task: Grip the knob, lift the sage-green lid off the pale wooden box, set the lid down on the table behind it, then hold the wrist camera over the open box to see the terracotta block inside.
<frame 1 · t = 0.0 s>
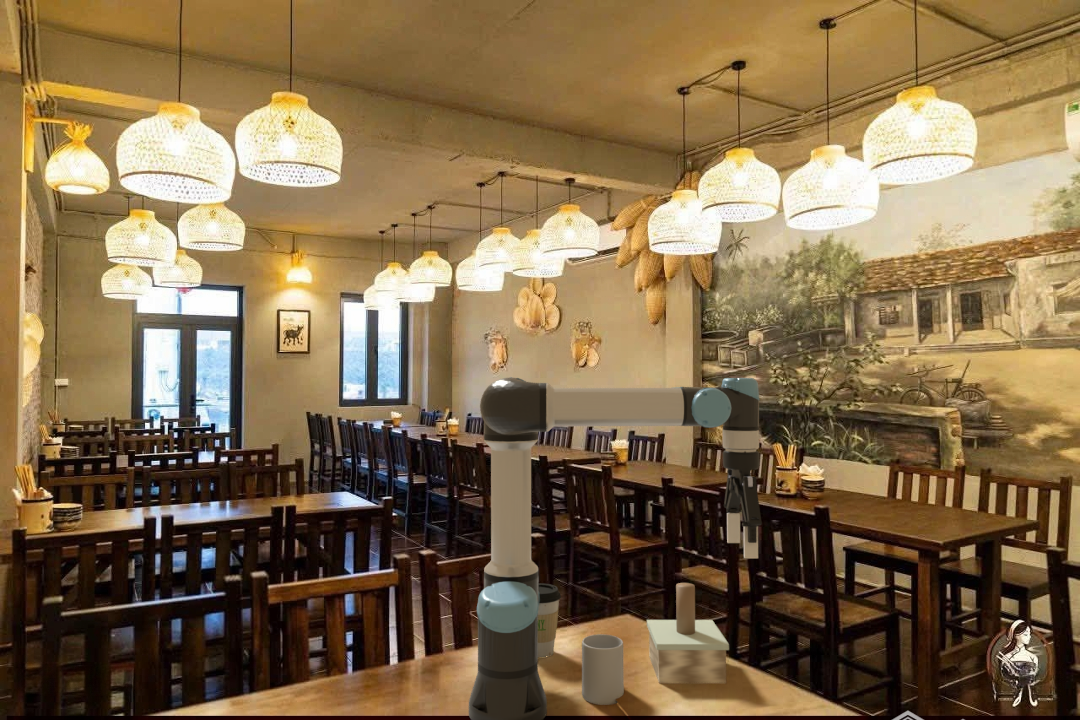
hand: (741, 550, 152), 28 cm above the table, tool pointing down, fingers open, 13 cm apart
coffee cup: (540, 653, 168), on the table
mug: (602, 693, 147), on the table
box: (686, 673, 156), on the table
lid: (685, 641, 156), point 7 cm above the table, touching box
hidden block: (686, 669, 156), point 1 cm above the table, touching box
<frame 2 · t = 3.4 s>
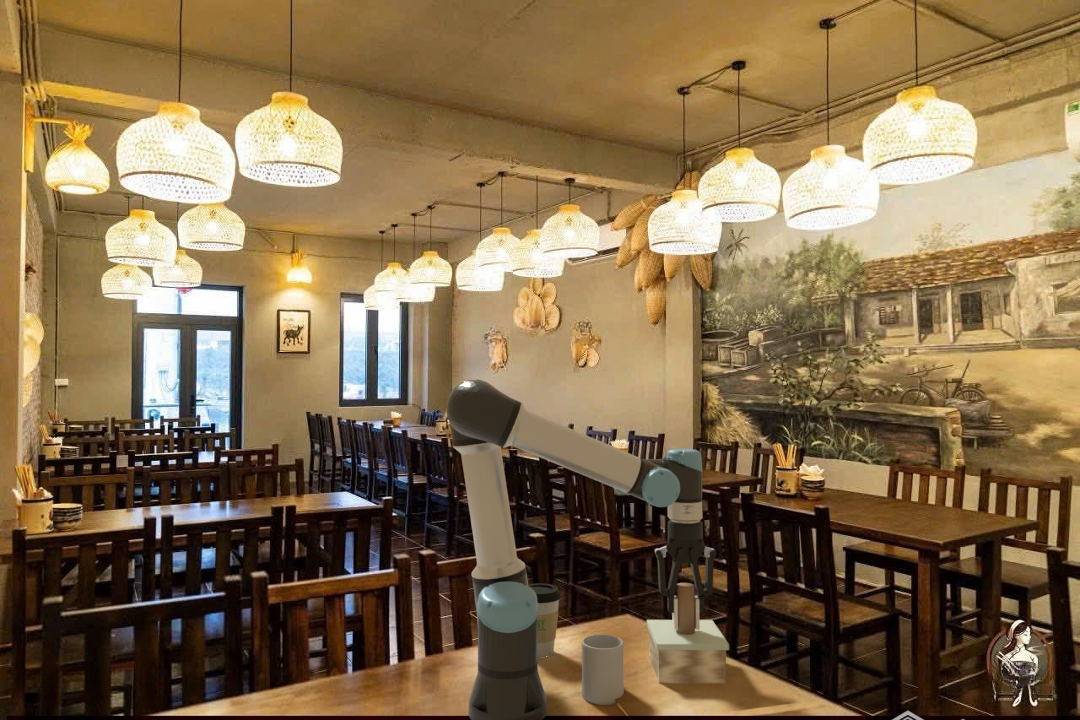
hand: (685, 627, 156), 10 cm above the table, tool pointing down, fingers closed on lid, 4 cm apart
lid: (685, 641, 156), point 7 cm above the table, touching box, gripper
everything else where it was.
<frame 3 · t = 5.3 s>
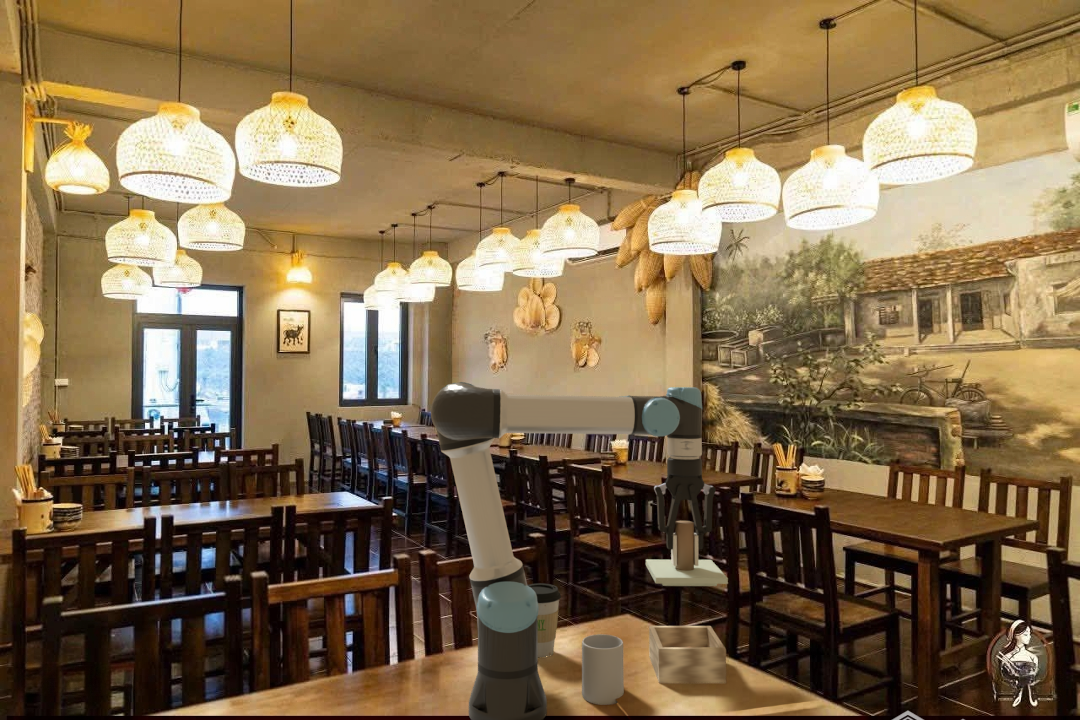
hand: (684, 563, 156), 24 cm above the table, tool pointing down, fingers closed on lid, 4 cm apart
lid: (684, 578, 156), point 21 cm above the table, touching gripper
everything else where it was.
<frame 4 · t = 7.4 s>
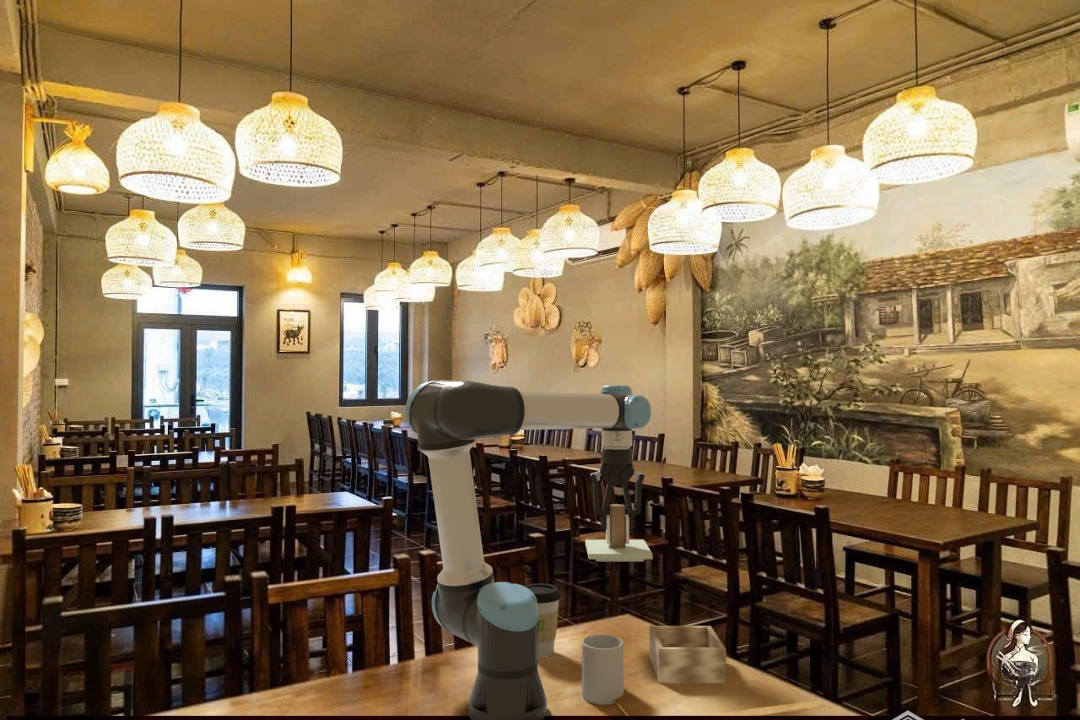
hand: (617, 542, 176), 24 cm above the table, tool pointing down, fingers closed on lid, 4 cm apart
lid: (617, 555, 176), point 21 cm above the table, touching gripper
everything else where it was.
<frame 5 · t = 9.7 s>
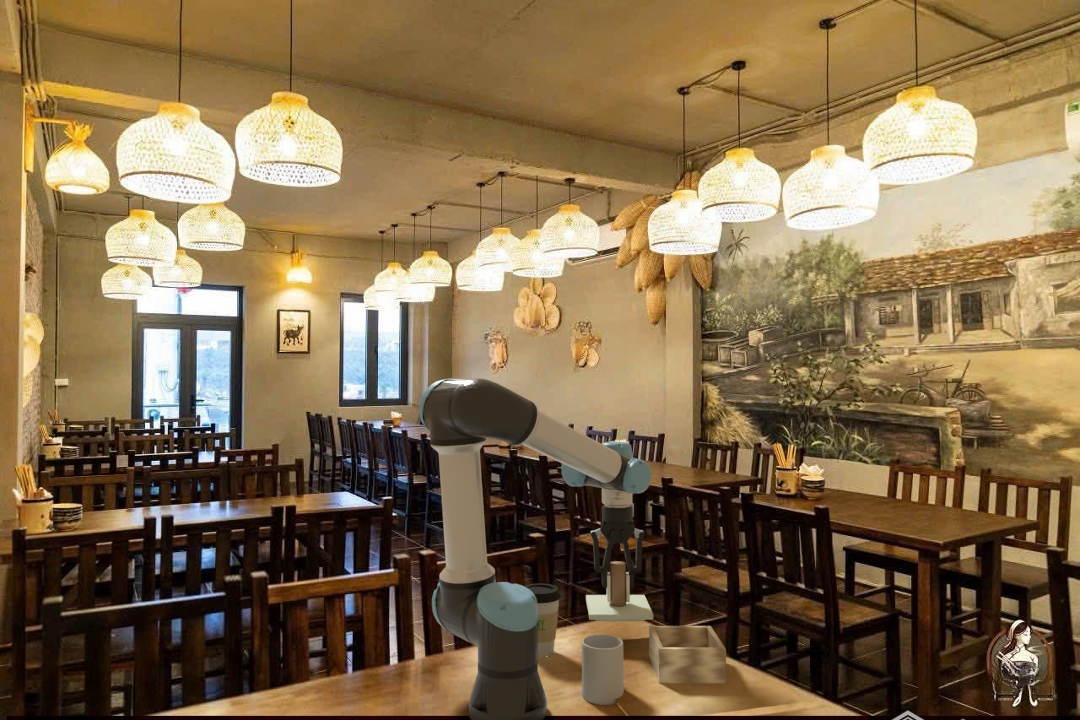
hand: (618, 600, 175), 10 cm above the table, tool pointing down, fingers closed on lid, 4 cm apart
lid: (618, 613, 175), point 7 cm above the table, touching gripper
everything else where it was.
when the fingers open (5 cm above the table, at t = 11.5 s): lid drops 2 cm, on the table.
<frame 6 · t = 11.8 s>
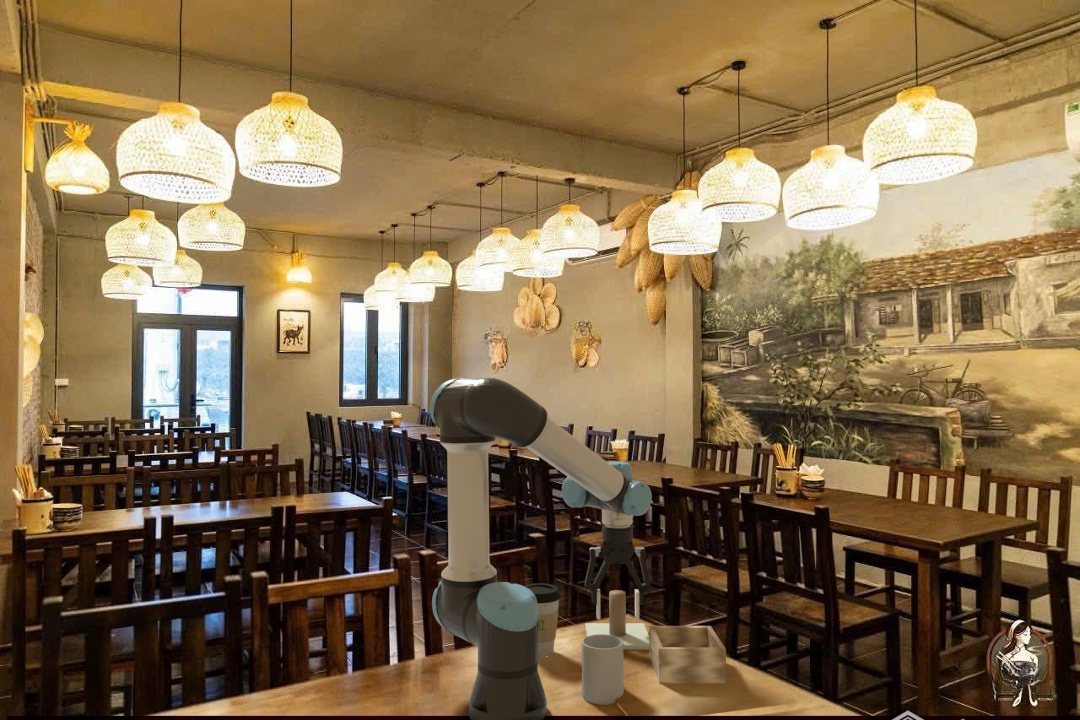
hand: (617, 617, 175), 6 cm above the table, tool pointing down, fingers open, 9 cm apart
lid: (617, 642, 175), on the table
everything else where it was.
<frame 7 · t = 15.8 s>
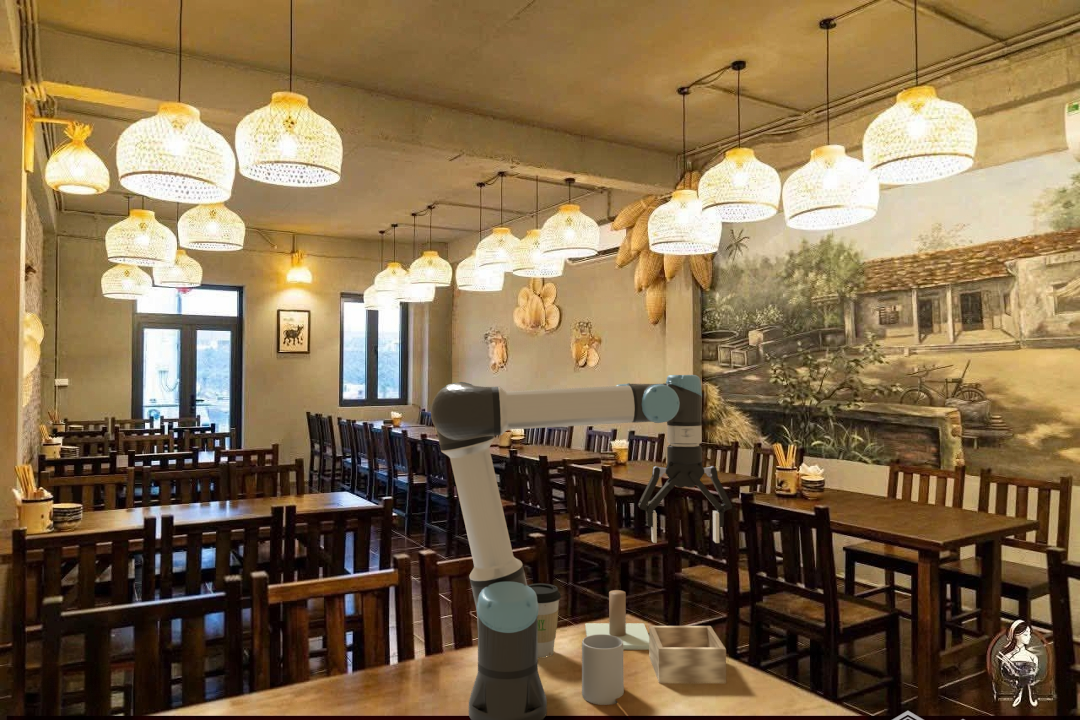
hand: (685, 541, 157), 29 cm above the table, tool pointing down, fingers open, 13 cm apart
nothing on the table moved.
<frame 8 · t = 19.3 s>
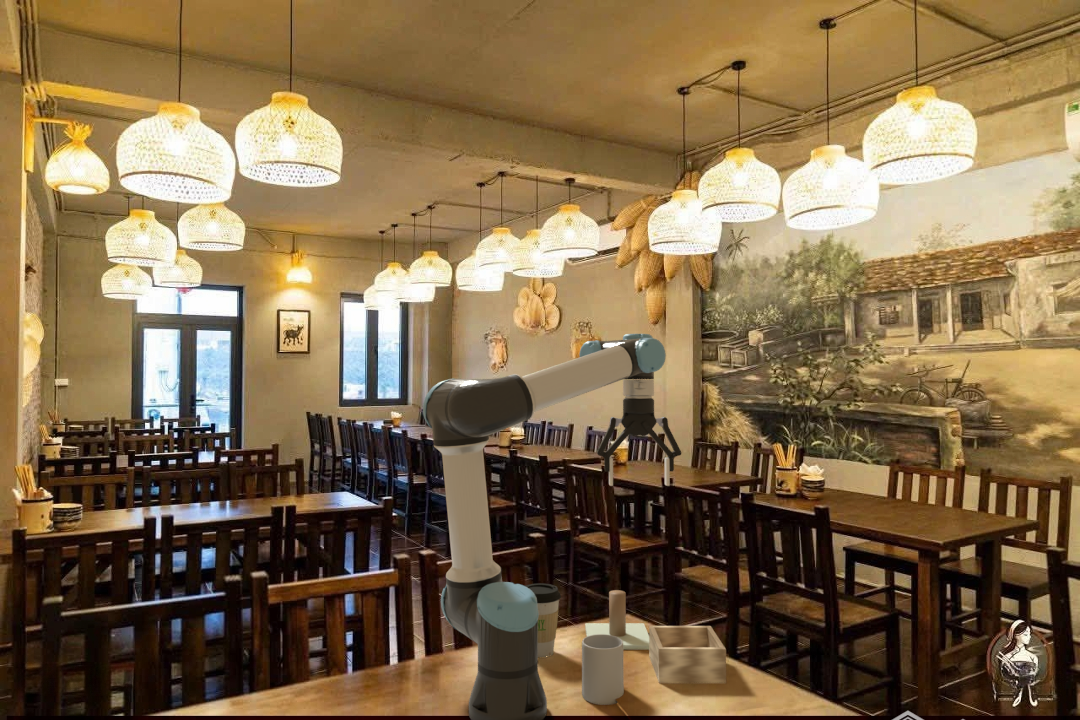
hand: (639, 485, 173), 39 cm above the table, tool pointing down, fingers open, 13 cm apart
nothing on the table moved.
at the end: lid moved 24.2 cm from its start; lid touching table; lid tilted 0° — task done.
